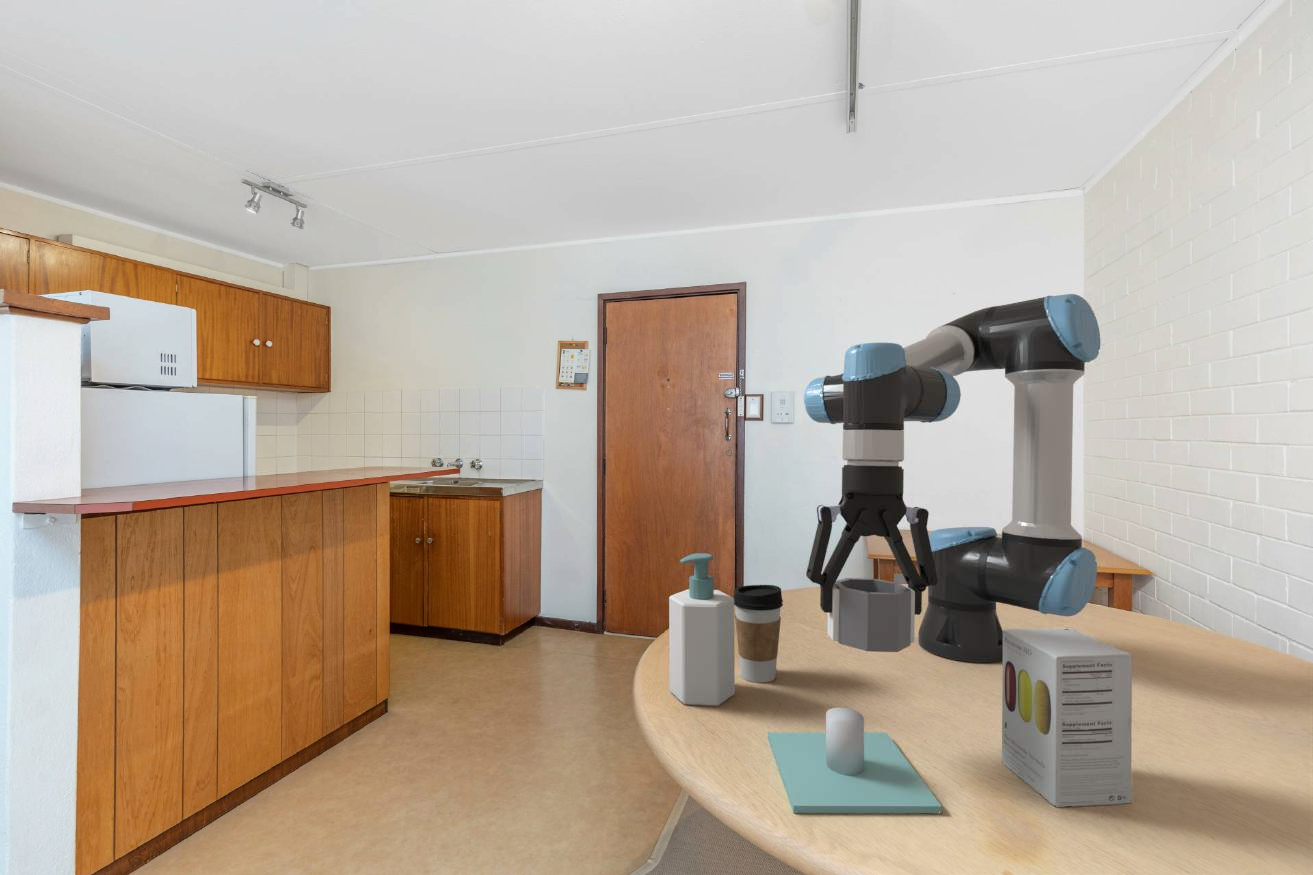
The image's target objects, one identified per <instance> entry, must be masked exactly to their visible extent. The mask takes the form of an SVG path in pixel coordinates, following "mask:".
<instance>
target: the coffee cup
mask: <svg viewBox="0 0 1313 875" xmlns="http://www.w3.org/2000/svg"><path fill="white" fill-rule="evenodd" d="M732 597H733V598H734V608H735V614H734V622H735V630H736V639H737V649H738V657H739V671H740V676H741V678H742V679H743V680H746V681H748V682H751V683H756V684H757V683H762V684H763V683H764V684H765V683H770V682H772V681H774V680H775V679H776V676H777V660H778V652H779V641H780V630H781V619H782V617H781V608H782V607H783V605H784V604H783V602H784V600H783V594H782V588H781V587H779V586H777V585H773V584H748V585H741V586H738V587H736V588H735V589H734V592H733V596H732Z"/></svg>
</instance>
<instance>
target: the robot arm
mask: <svg viewBox="0 0 1313 875" xmlns="http://www.w3.org/2000/svg"><path fill="white" fill-rule="evenodd" d="M1100 349H1101V334H1100V328H1099V323H1098V319H1097V317H1096V314H1095V313H1094V310H1093V308H1092V306H1091V305H1090V303H1089V302H1088V301H1087V299H1085V298H1084V297H1083V296H1081V295H1078V294H1075V293H1067V294H1066V293H1065V294H1057V295H1046V296H1044V297H1037V298H1034V299H1028V300H1022V301H1018V302H1017V301H1016V302H1014V303H1013V302H1012V303H1007V304H1002V305H994V306H990V307H989V306H988V307H985V308H981V309H979V310H976V311H975V310H974V311H973V312H971V313H968V314H965V315H962V316H961V317H958V318H956V319H954V320H952V321H950V322H947V323H945V324H943V325H939V326H938V327H936V328H934V329H933V330H931V331H930V332H929V333H928V334H927V336H926V337H925V338H924V339H921V340H919V341H916V342H914V343H912V344H910V345H907V346H905V347H903V346H902V345H901V344H899V343H894V342H883V341H882V342H866V343H859V344H856V345H855V344H854V345H853V346H850V347H849V348H848V349H847V350H846V351H845V354H844V363H843V373H841V374H837V375H825V376H823V377H817V378H814V379H812V380H811V381H810V382H809V383H808V385H807V386H806V388H805V391H804V393H803V394H804V395H803V404H804V407H805V411H806V413H807V415H808V416H809V418H810V419H811V420H812V421H814V422H816V423H818V424H819V423H822V424H831V425H836V424H842V460H844V461H846V462H847V463H846V464H844V465H843V466H842V467H841V498H840V500H839V502H838V504H835V505H826V506H825V505H823V504H820V505H818V506H817V507H816V512H817V513H816V514H817V516H816V517H817V526H816V530H815V535H814V539H813V544H812V548H811V552H810V557H809V560H808V565H807V568H806V573H805V575H806V578H807V579H809V580H810V582H812V583H814V584H817V585H819V587H820V596H819V597H820V599H819V600H820V601H819V603H820V604H819V605H820V609H821V610H822V612H823V613H825V614H826V613H827V634H826V635H828V636H829V638H830V639H831V641H833V642H838V641H839V608H840V589H838V588H837V587H836V586H835V585H834V584H835V582H836V581H838V580H837V579H838V578H839V576H840V575H841V572H842V570H843V568H844V567H845V565H846V562H847V561H848V558H849V556H850V554H851V552H852V551H853V549H854V547H855V545H856V543H858V542H859V541H860V538H861V537H870V536H877V537H881V538H883V537H884V540H886V542H887V544H888V546H889V548H890V550H891V553H892V555H893V557H894V559H895V562H896V563H897V566H898V567H899V570H900V572H901V573H902V575H903V578H904V581H905V582H906V584H907V586H906V585H904V586H905V587H907V588H908V589H910V590H911V634H910V644H913V643H914V644H915V628H916V627H915V626H916V625H915V618H916V616H915V615H917V616H918V615H921V614H922V611H923V610H922V609H923V608H922V605H923V604H922V603H923V598H922V596H923V592H925V591H926V590H927V606H926V609H925V612H924V615H923V617H922V621H921V623H920V626H919V629H918V636H917V637H918V640H917V641H918V645H919V646H920V647H921V648H922V649H923V650H925V651H927V652H929V653H931V654H932V655H933V654H934V655H937V656H938V657H941V658H945V659H950V660H956V661H961V662H967V663H968V662H969V663H994V662H1000V661H1003V630H1004V629H1003V628H1002V624H1001V622H1000V619H999V616H998V614H997V603H998V604H999V603H1000V604H1005V605H1009V606H1013V607H1018V608H1022V609H1027V610H1031V611H1036V612H1039V613H1040V614H1043V615H1048V614H1049V615H1054V616H1059V617H1060V616H1061V617H1072V616H1076V615H1077V614H1079V613H1081V612H1082V610H1083V609H1084V608H1085V607H1086V606H1087V605H1088V602H1089V601H1090V599H1091V597H1092V595H1093V592H1094V589H1095V584H1096V581H1097V580H1096V579H1097V575H1098V563H1097V559H1096V558H1097V557H1096V554H1095V553H1094V552H1093V551H1092V550H1090V549H1089V548H1086V547H1083V545H1082V544H1083V543H1082V542H1083V536H1082V534H1080V532H1078V531H1077V530H1076V529H1075V528H1074V527H1073V525H1072V495H1073V494H1072V491H1073V490H1072V489H1073V486H1072V485H1073V483H1072V482H1073V479H1072V478H1073V432H1074V431H1073V430H1074V428H1073V427H1074V424H1073V421H1074V419H1073V418H1074V416H1073V415H1074V385H1075V384H1076V382H1077V381H1078V380H1080V379H1081V378H1082V377H1083V376H1084V375H1085V371H1086V370H1085V365H1086V363H1090V362H1092V361H1094V360H1096V358H1097V357H1098V356H1099V353H1100V351H1099V350H1100ZM989 370H990V371H991V370H1004V378H1005V379H1007V380H1008V381H1009V382H1010V383H1011V384H1012V385H1013V387H1014V393H1013V394H1014V396H1013V397H1014V398H1013V401H1014V402H1013V404H1014V405H1013V457H1012V460H1013V461H1012V501H1011V502H1012V503H1011V504H1012V508H1011V509H1012V512H1011V513H1012V514H1011V521H1010V522H1009V523H1008V524H1007V525H1006V526H1004V527H1003V528H1002V529H1001V537H999V536H998V533H997V530H996V529H995V528H993V527H988V526H964V527H948V528H946V527H945V528H940V529H936V530H933V531H932V532H931V533H929V532H928V520H929V514H930V513H929V511H928V509H926V508H923V507H919V506H914V507H910V506H907V505H906V504H905V501H904V483H905V482H904V477H905V476H904V474H905V472H904V468H903V467H902V466H901V465H899V464H900V463H902V462H903V461H904V460H905V422H920V423H933V422H934V423H935V422H941V421H945V420H947V419H948V418H951V416H953V415H954V413H955V412H956V410H957V409H958V408H959V405H960V402H961V394H962V393H961V388H960V385H959V382H958V381H957V380H956V378H955V377H956V376H959V375H962V374H963V373H967V372H974V371H975V372H978V371H989ZM838 515H840V516H841V517H842V518H843V520H844V521H845V523H846V524H845V525H844V527H843V529H842V531H841V536H840V538H839V540H838V542H837V544H836V545H835V548H834V550H833V552H832V554H831V556H830V558H829V559H828V561H827V563H826V566H825V567H824V564H825V559H826V555H827V552H828V546H829V542H830V539H831V534H832V529H833V523H835V522H836V520H837V517H838ZM904 516H906V521H907V523H909V528H910V535H911V540H912V544H913V547H914V553H915V554H914V555H915V558H916V563H917V567H918V569H917V567H916V565H915V564H914V561H913V559H912V557H911V556H910V553H909V550H908V549H907V547H906V545H905V542H904V541H903V535H902V534H901V531H900V530H899V527H898V525H899V523H900V522H901V521H902V519H903V518H904ZM823 567H824V569H823Z"/></svg>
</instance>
